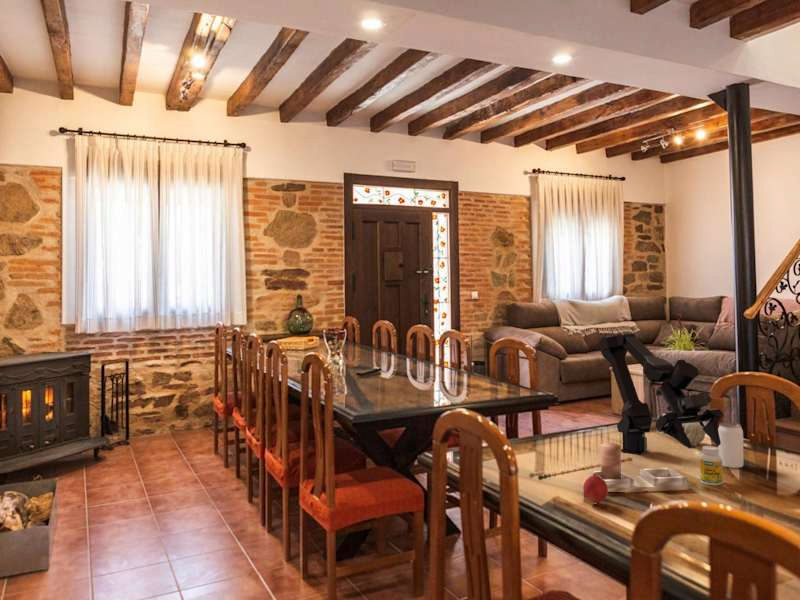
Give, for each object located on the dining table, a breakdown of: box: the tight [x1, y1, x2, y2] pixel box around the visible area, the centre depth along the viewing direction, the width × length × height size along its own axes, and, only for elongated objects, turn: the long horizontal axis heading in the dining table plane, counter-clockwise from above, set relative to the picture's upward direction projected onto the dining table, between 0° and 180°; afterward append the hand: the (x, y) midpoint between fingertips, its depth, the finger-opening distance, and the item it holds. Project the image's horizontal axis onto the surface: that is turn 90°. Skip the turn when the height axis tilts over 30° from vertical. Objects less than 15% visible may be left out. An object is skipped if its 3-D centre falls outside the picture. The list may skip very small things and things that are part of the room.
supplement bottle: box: [699, 445, 723, 487], centre depth 165 cm, size 5×5×10 cm
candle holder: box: [589, 442, 689, 493], centre depth 163 cm, size 24×9×11 cm, turn 93°
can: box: [717, 422, 744, 469], centre depth 179 cm, size 6×6×12 cm
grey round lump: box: [680, 422, 706, 447], centre depth 203 cm, size 9×8×10 cm
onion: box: [582, 473, 609, 504], centre depth 151 cm, size 6×6×8 cm
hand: (705, 446), depth 166 cm, fingers open, 9 cm apart
